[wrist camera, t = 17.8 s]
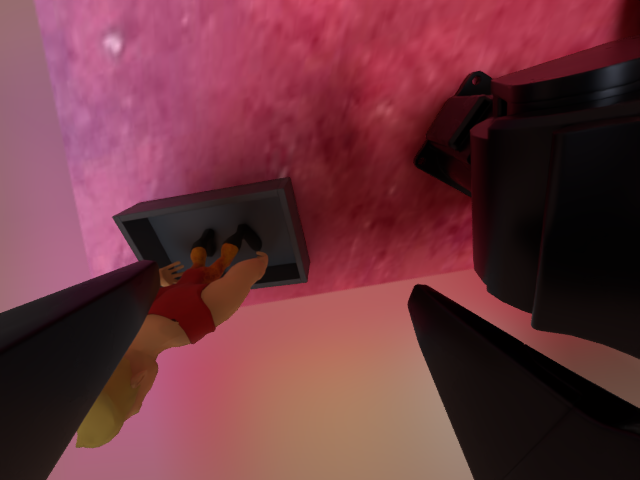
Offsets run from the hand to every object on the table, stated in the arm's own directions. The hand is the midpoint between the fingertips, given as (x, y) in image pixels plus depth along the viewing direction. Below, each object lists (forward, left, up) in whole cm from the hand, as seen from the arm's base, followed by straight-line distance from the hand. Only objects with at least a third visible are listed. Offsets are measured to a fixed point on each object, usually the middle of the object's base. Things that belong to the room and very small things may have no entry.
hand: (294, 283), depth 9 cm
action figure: (+4, +7, -12) cm, 15 cm away
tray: (+5, +7, -12) cm, 15 cm away
